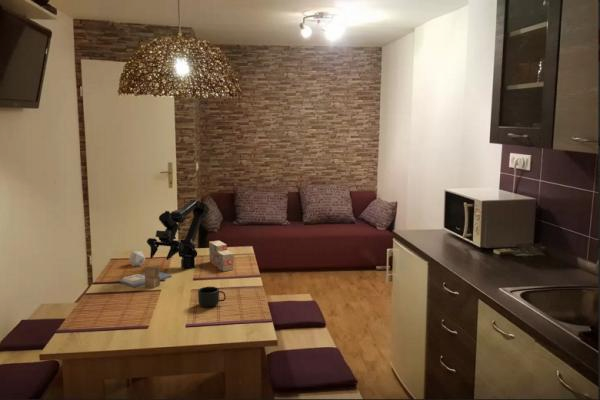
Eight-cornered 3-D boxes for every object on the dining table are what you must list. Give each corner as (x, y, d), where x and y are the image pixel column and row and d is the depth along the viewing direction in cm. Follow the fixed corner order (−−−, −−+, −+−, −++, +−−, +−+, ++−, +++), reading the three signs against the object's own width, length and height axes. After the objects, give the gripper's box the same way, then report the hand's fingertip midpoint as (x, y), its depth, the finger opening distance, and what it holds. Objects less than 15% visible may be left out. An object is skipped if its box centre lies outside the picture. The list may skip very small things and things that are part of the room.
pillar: (151, 284, 253) (150, 264, 251) (160, 285, 251) (159, 265, 249) (145, 287, 248) (144, 267, 246) (154, 288, 246) (153, 268, 245)
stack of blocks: (233, 270, 277) (233, 248, 275) (223, 271, 274) (222, 249, 272) (219, 260, 295) (219, 240, 293) (209, 262, 292) (208, 241, 290)
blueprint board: (155, 271, 273) (155, 267, 272) (171, 276, 264) (171, 272, 263) (118, 281, 256) (118, 277, 255) (134, 287, 247) (134, 282, 247)
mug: (196, 309, 220) (196, 293, 219) (200, 301, 229) (199, 286, 228) (224, 308, 220) (224, 293, 219) (227, 301, 229) (226, 286, 228)
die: (138, 269, 279) (147, 254, 282) (124, 261, 278) (133, 246, 281) (140, 270, 287) (149, 255, 289) (126, 263, 286) (135, 248, 289)
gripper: (147, 222, 259) (135, 248, 250) (179, 225, 253) (168, 252, 244) (157, 234, 267) (145, 260, 258) (188, 237, 261) (177, 263, 253)
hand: (158, 258), depth 253 cm, fingers open, 9 cm apart
